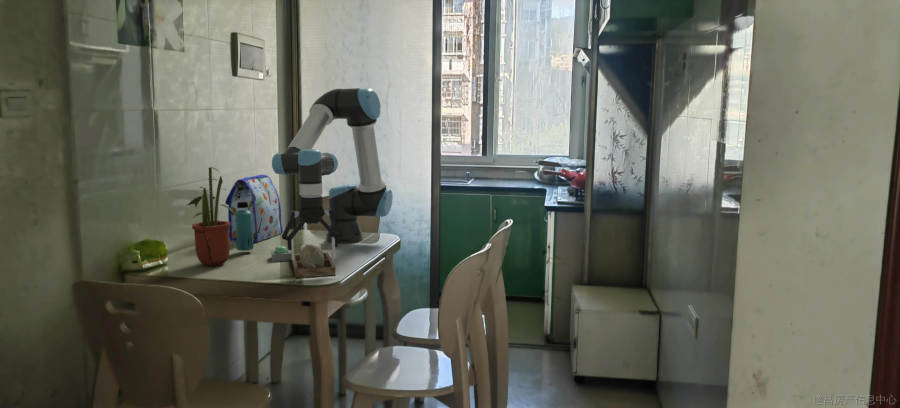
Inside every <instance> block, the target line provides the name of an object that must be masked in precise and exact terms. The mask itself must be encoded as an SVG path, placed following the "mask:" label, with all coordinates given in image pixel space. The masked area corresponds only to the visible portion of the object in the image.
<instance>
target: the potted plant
mask: <svg viewBox="0 0 900 408" xmlns="http://www.w3.org/2000/svg"><path fill="white" fill-rule="evenodd" d="M212 169H213V170H215V171H217V172H218V173H220V170H219V169H218V168H216V167H213V166H210V167H208V179H207V180H208V187H209V188H208V189H207V188H206V187H204V186H199V189H202V190H201V192H203V193H202V195H200V196H197V197H195V198H193V199H192V200H191V201H190V202H188V203H187V206H191V205H194V206H195V208H196V209H197V207H198V204H199V203H200V201H201V200H202V201H201V202H202V205H201V206H202V207H201V209H202V211H201V212H197V213H196V214H195V215H194V216H193V217H192V219H194V218H196V217H198V216H200V215H201V217H202V218H201V220H202V221H200V222H196V223H193V224H191V228H192V230H193V232H194V247H195V253H196V257H197V259H198V261H199V263H201V264H202V265H203V266H206V267H219V266H222V265H223V264H225V263H226V262H227V260H228V258H229V257H230V252H231V251H230V249H231V244H230V243H231V242H230V241H231V240H230V238H229V227H230V226H231V223H230V222H229V220H228V221H227V220H220V219H219V220H218V212H219V206H222V207H224V208H226V209H227V210H228V209H229V210H230V211H231V212H233V211H232V210H231V208H229V207H228V205H226V204H219V203H220V202H219V201H220V193H221V190H222V184H223V182H224V181H223V177H222V175H220V176H219V179H218V180H217V179H216V178H213V175H212V174H213V171H212ZM213 180H215V181H216V182H218V183H217V187H216V194H215V196H213ZM224 190H225V191H227V189H226V188H224ZM207 192H209V199H208V193H207ZM213 200H215V202H214V201H213ZM233 213H234V212H233ZM234 215H235V214H234Z"/></svg>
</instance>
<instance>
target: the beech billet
mask: <svg viewBox="0 0 900 408" xmlns="http://www.w3.org/2000/svg"><path fill="white" fill-rule="evenodd" d="M305 245H313V246H317V247H318V248H319V249H320V250H321V251H322V245H321V244H318V243H316V244H315V243H310V244H309V243H307V244H302V245H300V251H301V250H302V249H303V248H305Z"/></svg>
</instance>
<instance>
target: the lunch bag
mask: <svg viewBox="0 0 900 408" xmlns="http://www.w3.org/2000/svg"><path fill="white" fill-rule="evenodd" d="M280 201H281V200H280V197H279V194H278V191H277V188H276V187H275V186H274V183H273V181H272V179H271V177H269V175H267V174H258V175H253V176H248V177H247V176H245V177H242V178H241V179H237V180H236V182H235V183H234V184H233V185H232V188H231V189H230V191H229V193H228V194H227V197H226V199H225V205H226V206H227V207H229V208H231V210H232V211H233V212H234V213H233V212H231V211H230V210H229V209H228V208H227V210H228V212H227V214H228V217H227V219H228V222H230V223H231V226H230V227H229V238H230V241H231V242H237V240H236V222H235V215H234V214H235V213H236V212H237V211H239V210H249V211H250V212H251V213H252V214H251V215H252V223H253V224H252V230H253V240H254V241H253V243H257V242H261V241H264V240H266V239H270V238H273V237H275V236H279V235H282V234H283V232H284V230H283V225H282V209H281V202H280ZM238 202H248V207H247V208H237V203H238Z"/></svg>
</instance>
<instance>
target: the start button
mask: <svg viewBox="0 0 900 408" xmlns="http://www.w3.org/2000/svg"><path fill="white" fill-rule="evenodd" d="M274 249H275V251H276V254H278V253H287V250H288V246H285V245H280V246H275V248H274Z"/></svg>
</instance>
